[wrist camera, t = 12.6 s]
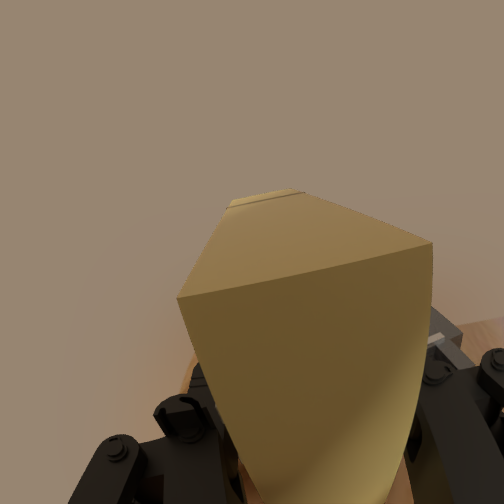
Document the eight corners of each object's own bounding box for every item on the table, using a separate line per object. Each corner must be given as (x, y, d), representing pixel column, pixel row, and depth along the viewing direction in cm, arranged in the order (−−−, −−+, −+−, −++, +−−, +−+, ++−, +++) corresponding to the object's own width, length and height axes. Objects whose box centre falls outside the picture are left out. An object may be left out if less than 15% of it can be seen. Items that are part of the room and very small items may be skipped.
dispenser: (424, 350, 26) (429, 299, 25) (472, 407, 16) (490, 351, 15) (342, 378, 27) (338, 327, 25) (372, 452, 17) (378, 403, 15)
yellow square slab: (319, 373, 18) (291, 188, 14) (369, 536, 6) (435, 241, 3) (273, 383, 18) (231, 200, 15) (292, 552, 6) (171, 299, 3)
